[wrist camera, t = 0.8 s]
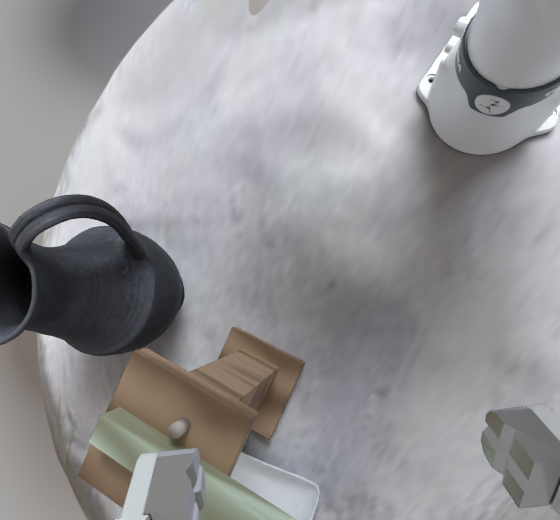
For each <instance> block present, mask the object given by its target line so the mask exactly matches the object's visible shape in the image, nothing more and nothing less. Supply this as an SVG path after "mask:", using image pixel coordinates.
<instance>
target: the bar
mask: <svg viewBox="0 0 560 520" xmlns="http://www.w3.org/2000/svg"><path fill="white" fill-rule="evenodd" d="M89 443H90V444H92V445H93V446H95V447H96V448H98V449H99V450H100V451H102V452H103V453H105V454H106V455H108V456H109V457H111V458H112V459H114V460H115V461H116V462H118V463H119V464H121V465H122V466H124V467H125V468H127V469H128V470H129V471H131V472H132V473H133V472H134V469H135V465H136V462H137V459H138V458H139V456H140V455H141V454H144V453H153V452H162V451H172V450H182V449H186V448H184V447H182V446H181V445H179V444H178V443H176V442H175V441H173V440H172V439H170V438H168V437H167V436H165V435H164V434H162V433H161V432H159V431H157V430H156V429H154V428H153V427H151V426H150V425H148V424H147V423H145V422H143V421H142V420H140V419H139V418H137V417H136V416H134V415H132V414H131V413H129V412H128V411H126V410H125V409H123V408H122V407H118V408H116V409H113V410H111V411H109V412H107V413H104V414H102V415H100V418H99V420H98V422H97V424H96V427H95V429H94V431H93V433H92V436H91V438H90V440H89ZM199 465H201V466H202V467H203V469H204V474H205V503H204V506H203V508H202V509H201V511H200V516H201V520H297V519H295V518H293V517H292V516H290V515H289V514H287V513H286V512H284V511H282V510H281V509H279V508H278V507H276V506H275V505H273V504H272V503H270V502H268V501H267V500H265V499H264V498H262V497H261V496H259V495H257V494H256V493H254V492H253V491H251V490H250V489H248V488H247V487H245V486H243V485H242V484H240V483H239V482H237V481H236V480H234V479H232V478H231V477H229V476H228V475H226V474H225V473H223V472H222V471H220V470H218V469H217V468H215V467H214V466H212V465H211V464H209V463H207V462H206V461H204V460H203V459H201V458H200V462H199Z"/></svg>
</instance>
